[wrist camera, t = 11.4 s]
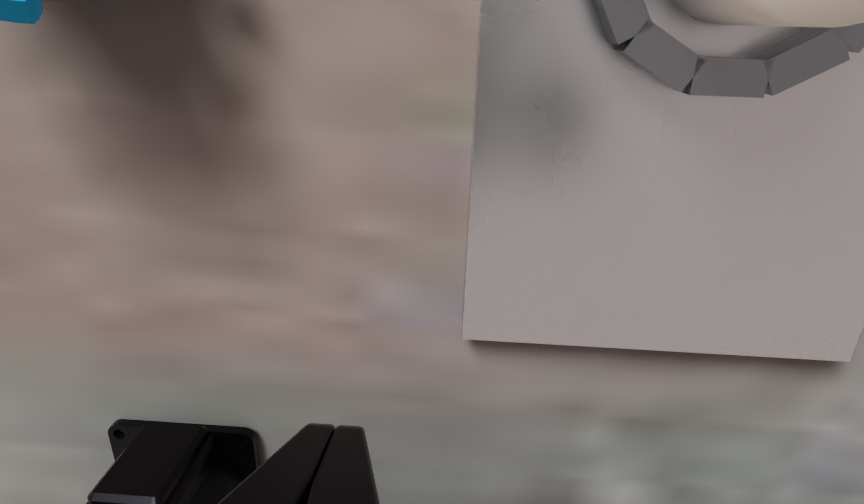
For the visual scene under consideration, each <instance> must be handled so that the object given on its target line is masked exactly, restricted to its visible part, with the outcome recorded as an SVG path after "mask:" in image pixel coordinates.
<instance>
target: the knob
mask: <svg viewBox="0 0 864 504" xmlns="http://www.w3.org/2000/svg"><path fill="white" fill-rule="evenodd" d="M673 1H674V2H675V3H676V4H677V5H678V6H679V7H680V8H681V9H683V10H684V11H685V12H687V13H688V14H689V15H691V16H693V17H695V18H697V19H699V20H702V21H705V22H708V23H713V24H719V25H750V26H789V27H828V28H833V27H843V26H850V25H855V24H859V23H864V0H673Z"/></svg>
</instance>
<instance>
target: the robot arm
mask: <svg viewBox="0 0 864 504" xmlns="http://www.w3.org/2000/svg"><path fill="white" fill-rule="evenodd" d="M108 435H109V439H110V443H111V447H112V451H113V455H114V459H115V462H114V463H113V465H112V466H111V467H110V468H109V470H108V471H107V472H106V473H105V475H104V476H103V477H102V478H101V480H100V481H99V482H98V483H97V485H96V486H95V487H94V488H93V490H92V491H91V492H90V493H89V495H88V502H87V503H86V504H380V503H379V499H378V494H377V489H376V484H375V479H374V474H373V470H372V465H371V460H370V455H369V450H368V445H367V441H366V436H365V431H364V429H363V428H362V427H360V426H346V425H339V426H338V427H336V428H335V426H333V425H331V424H317V423H311V424H308V425H306V426H305V427H304V428H302V429H301V430H300V431H299V432H298V433H297V434H296V435H295V436H293V437H292V438H291V439H290V440H289V441H288V442H287V443H286V444H284V445H283V446H282V447H281V448H280V449H279V450H278V451H277V452H275V453H274V454H273V455H272V456H271V457H270V458H269V459H268V460H266V461H265V462H264V463H263V464H262V465H261V466H260V460H259V452H258V443H257V436H256V434H255V433H254V431H253V430H251V429H249V428H245V427H232V426H217V425H202V424H187V423H172V422H157V421H142V420H127V419H119V420H117V421H115V422H114V423H113V424H112V426H111V427H110V428H109V430H108ZM241 438H243V439H245V440H247V441H244V440H242V439H241Z"/></svg>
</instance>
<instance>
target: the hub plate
mask: <svg viewBox="0 0 864 504" xmlns="http://www.w3.org/2000/svg"><path fill="white" fill-rule="evenodd" d="M863 326H864V23H859V24H855V25H850V26H843V27H833V28H828V27H789V26H750V25H719V24H713V23H708V22H705V21H702V20H699V19H697V18H695V17H693V16H691V15H689V14H688V13H687V12H685V11H684V10H683V9H681V8H680V7H679V6H678V5H677V4H676V3H675V2H674V1H673V0H481V15H480V32H479V49H478V66H477V83H476V100H475V117H474V134H473V152H472V169H471V186H470V203H469V220H468V237H467V254H466V271H465V288H464V305H463V323H462V339H467V340H484V341H501V342H518V343H535V344H552V345H570V346H587V347H604V348H621V349H638V350H655V351H672V352H690V353H707V354H724V355H741V356H758V357H775V358H793V359H810V360H827V361H844V362H850V360H851V357H852V354H853V352H854V349H855V347H856V344H857V342H858V339H859V336H860V334H861V331H862V329H863Z"/></svg>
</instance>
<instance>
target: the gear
mask: <svg viewBox="0 0 864 504" xmlns="http://www.w3.org/2000/svg"><path fill="white" fill-rule="evenodd" d="M42 9H43V6H42V2H41V0H0V20H2V21H9V22H16V23H29V24H35V23H36V22H37V21H38V20H39V19H40V17H41V15H42Z"/></svg>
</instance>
